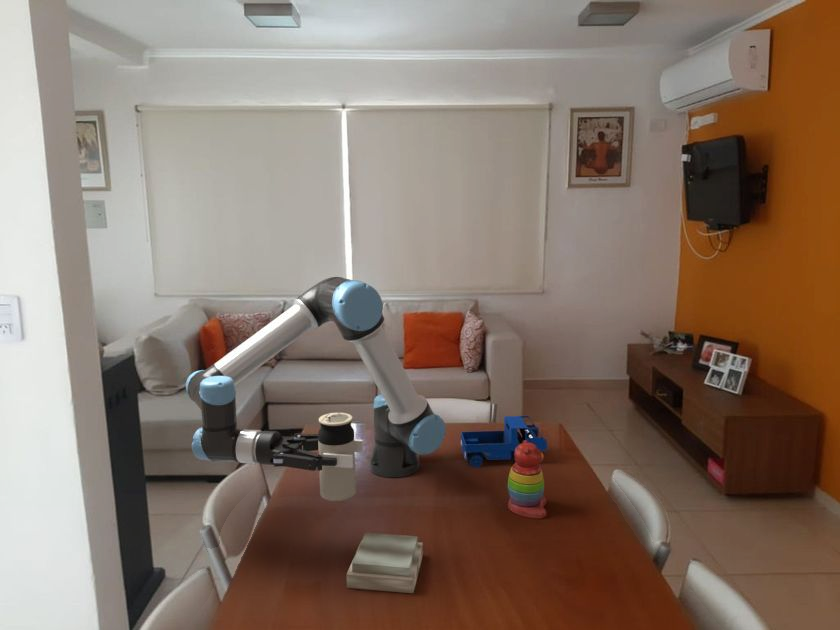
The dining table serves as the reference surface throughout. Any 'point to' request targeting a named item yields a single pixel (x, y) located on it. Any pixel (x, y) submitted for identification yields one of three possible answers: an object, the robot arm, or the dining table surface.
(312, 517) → the dining table surface
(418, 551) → the plinth
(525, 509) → the stacking bear
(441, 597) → the dining table surface
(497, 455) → the toy vehicle
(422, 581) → the dining table surface
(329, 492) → the travel mug
